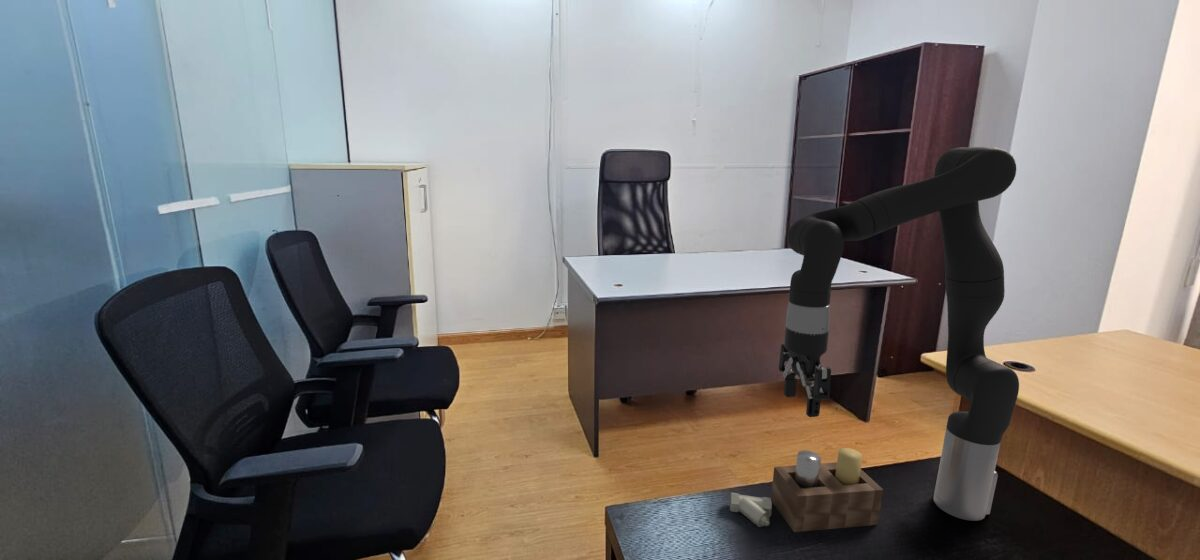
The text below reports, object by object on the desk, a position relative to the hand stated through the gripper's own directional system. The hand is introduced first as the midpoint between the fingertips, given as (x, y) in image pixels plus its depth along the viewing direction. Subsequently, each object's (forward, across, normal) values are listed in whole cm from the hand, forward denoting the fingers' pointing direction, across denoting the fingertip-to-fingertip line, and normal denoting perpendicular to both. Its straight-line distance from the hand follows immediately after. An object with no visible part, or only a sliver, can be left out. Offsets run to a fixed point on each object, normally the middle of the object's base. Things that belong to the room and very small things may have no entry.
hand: (800, 405), depth 101 cm
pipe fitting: (+25, +1, +8) cm, 27 cm away
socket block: (+25, +1, -8) cm, 26 cm away
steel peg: (+20, +1, -3) cm, 20 cm away
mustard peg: (+20, +1, -12) cm, 24 cm away
